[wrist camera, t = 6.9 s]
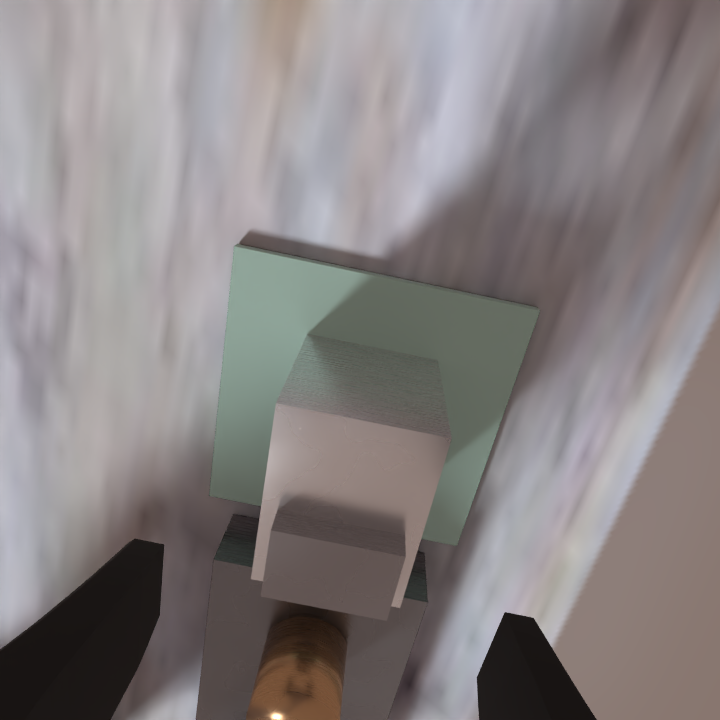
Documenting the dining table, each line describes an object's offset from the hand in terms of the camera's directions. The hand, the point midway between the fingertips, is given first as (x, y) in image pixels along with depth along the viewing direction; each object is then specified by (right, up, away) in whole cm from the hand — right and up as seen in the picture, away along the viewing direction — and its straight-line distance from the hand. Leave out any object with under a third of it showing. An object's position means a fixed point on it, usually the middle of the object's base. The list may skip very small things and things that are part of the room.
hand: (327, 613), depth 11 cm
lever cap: (+1, +3, +8) cm, 9 cm away
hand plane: (-2, -11, +15) cm, 18 cm away
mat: (+1, +4, +8) cm, 9 cm away
